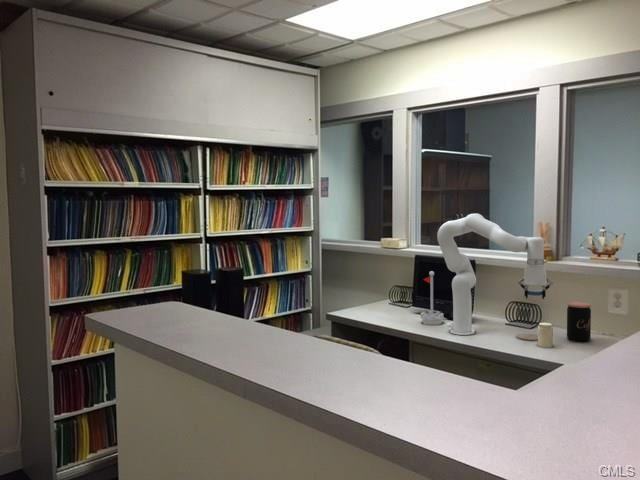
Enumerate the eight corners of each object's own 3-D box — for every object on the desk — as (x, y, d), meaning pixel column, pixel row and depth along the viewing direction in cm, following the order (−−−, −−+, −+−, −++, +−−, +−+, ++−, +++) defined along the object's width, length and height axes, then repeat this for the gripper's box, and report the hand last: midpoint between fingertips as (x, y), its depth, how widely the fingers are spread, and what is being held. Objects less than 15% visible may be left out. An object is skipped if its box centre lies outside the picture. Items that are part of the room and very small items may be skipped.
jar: (536, 346, 256) (536, 324, 256) (538, 343, 262) (539, 321, 261) (551, 348, 253) (551, 326, 252) (553, 344, 259) (553, 323, 258)
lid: (537, 296, 260) (537, 292, 260) (524, 294, 266) (524, 290, 266) (545, 294, 264) (545, 290, 264) (532, 292, 270) (532, 288, 270)
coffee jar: (577, 343, 260) (578, 306, 259) (561, 338, 270) (562, 302, 269) (595, 341, 263) (596, 305, 262) (579, 336, 273) (579, 301, 272)
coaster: (514, 338, 271) (514, 337, 271) (521, 334, 280) (521, 333, 280) (536, 341, 265) (536, 340, 264) (543, 337, 273) (543, 336, 273)
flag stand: (446, 321, 313) (445, 270, 311) (440, 326, 302) (439, 273, 300) (424, 319, 319) (423, 269, 317) (417, 324, 308) (417, 272, 306)
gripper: (554, 261, 265) (553, 297, 266) (516, 261, 270) (516, 296, 272) (555, 263, 257) (554, 300, 259) (516, 262, 263) (516, 298, 265)
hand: (534, 297), depth 265 cm, fingers closed on lid, 6 cm apart
